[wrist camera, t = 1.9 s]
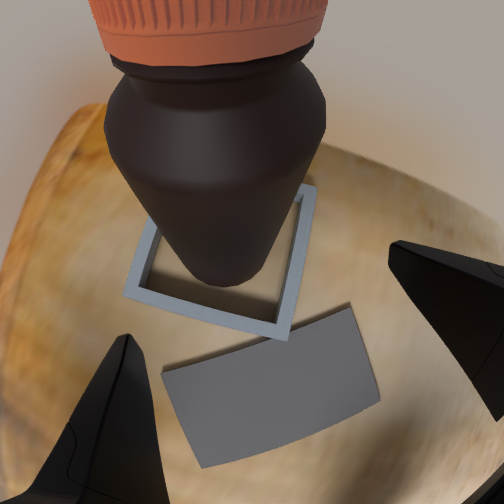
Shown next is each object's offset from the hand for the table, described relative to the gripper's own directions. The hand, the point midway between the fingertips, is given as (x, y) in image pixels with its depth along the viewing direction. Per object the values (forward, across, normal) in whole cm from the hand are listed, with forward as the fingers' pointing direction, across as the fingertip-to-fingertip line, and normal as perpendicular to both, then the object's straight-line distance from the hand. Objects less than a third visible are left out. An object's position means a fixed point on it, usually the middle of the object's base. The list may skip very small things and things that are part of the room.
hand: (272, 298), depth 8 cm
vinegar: (+13, 0, +5) cm, 14 cm away
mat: (+4, 0, +13) cm, 14 cm away
